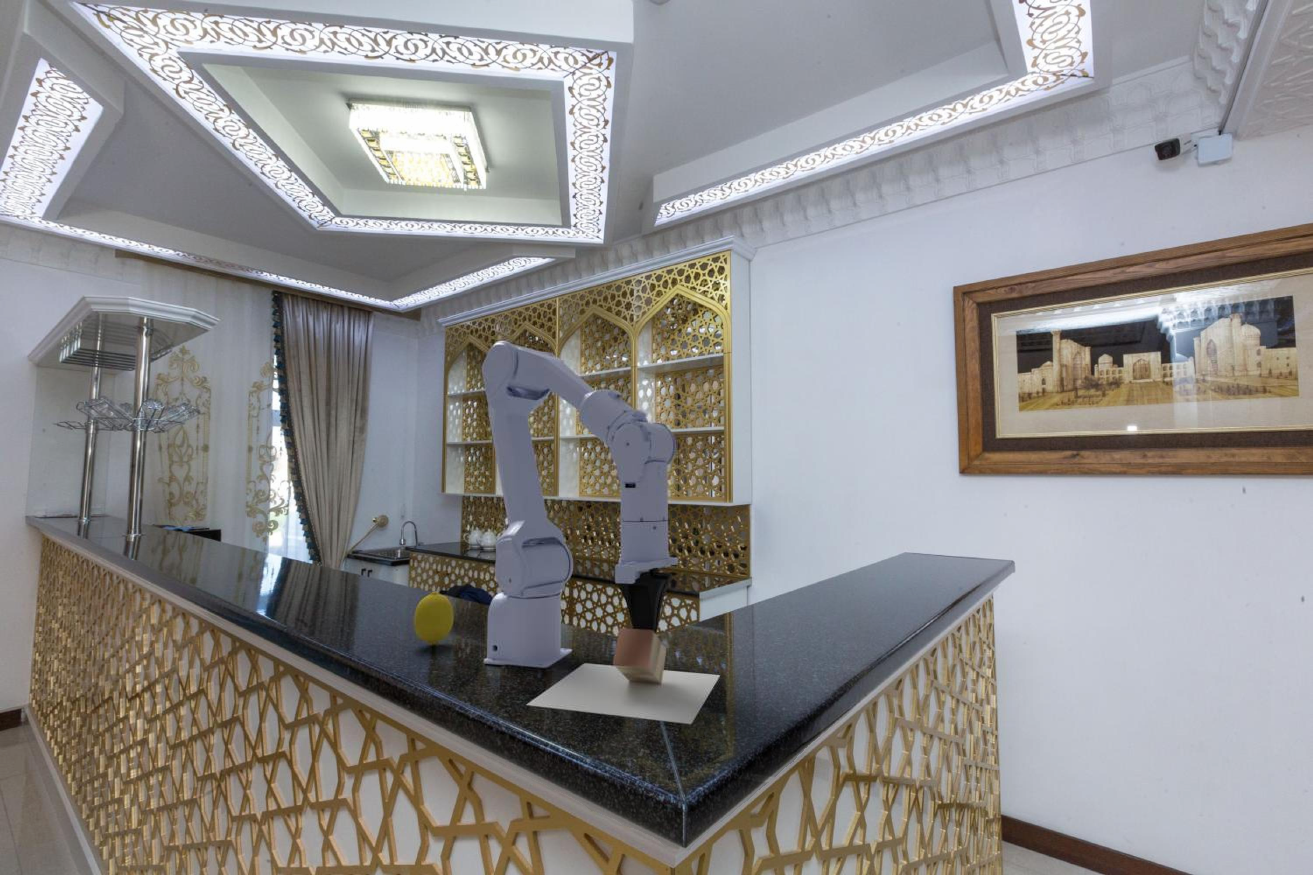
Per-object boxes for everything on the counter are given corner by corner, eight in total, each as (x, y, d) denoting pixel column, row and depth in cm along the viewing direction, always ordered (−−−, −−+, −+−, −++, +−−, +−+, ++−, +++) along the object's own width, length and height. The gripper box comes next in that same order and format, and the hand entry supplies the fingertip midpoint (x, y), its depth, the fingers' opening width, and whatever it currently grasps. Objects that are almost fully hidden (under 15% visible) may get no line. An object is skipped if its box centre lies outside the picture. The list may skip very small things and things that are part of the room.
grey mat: (526, 708, 61) (526, 704, 61) (584, 666, 75) (584, 663, 75) (691, 727, 55) (691, 723, 55) (720, 678, 70) (720, 675, 70)
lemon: (449, 639, 89) (450, 587, 90) (455, 647, 84) (456, 592, 85) (411, 644, 86) (412, 590, 87) (415, 653, 82) (416, 596, 82)
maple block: (629, 681, 68) (612, 663, 63) (635, 647, 70) (619, 627, 65) (661, 684, 67) (647, 666, 62) (666, 649, 69) (652, 630, 64)
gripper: (658, 524, 61) (660, 655, 60) (690, 517, 75) (692, 624, 73) (597, 524, 63) (597, 651, 62) (639, 517, 77) (640, 621, 75)
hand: (645, 636), depth 68 cm, fingers closed
